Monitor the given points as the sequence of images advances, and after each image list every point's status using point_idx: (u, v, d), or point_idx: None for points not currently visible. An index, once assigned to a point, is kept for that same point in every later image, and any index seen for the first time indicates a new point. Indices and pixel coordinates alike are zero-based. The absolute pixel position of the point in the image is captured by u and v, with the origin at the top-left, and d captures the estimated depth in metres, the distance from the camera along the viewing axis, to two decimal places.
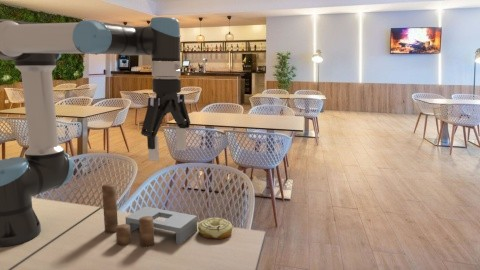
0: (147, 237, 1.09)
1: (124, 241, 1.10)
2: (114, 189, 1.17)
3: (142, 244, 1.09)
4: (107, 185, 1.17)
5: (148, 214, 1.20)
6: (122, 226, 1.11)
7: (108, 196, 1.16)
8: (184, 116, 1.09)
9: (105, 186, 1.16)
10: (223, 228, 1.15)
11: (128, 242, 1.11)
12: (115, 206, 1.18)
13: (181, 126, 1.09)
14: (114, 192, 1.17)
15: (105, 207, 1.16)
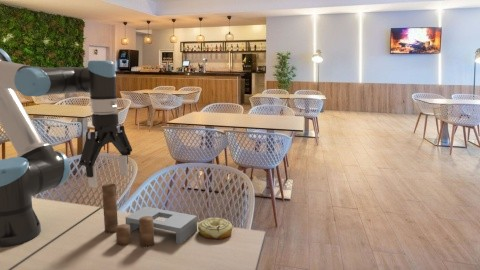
0: (147, 237, 1.09)
1: (124, 241, 1.10)
2: (114, 189, 1.17)
3: (142, 244, 1.09)
4: (107, 185, 1.17)
5: (148, 214, 1.20)
6: (122, 226, 1.11)
7: (108, 196, 1.16)
8: (125, 144, 1.22)
9: (105, 186, 1.16)
10: (223, 228, 1.15)
11: (128, 242, 1.11)
12: (115, 206, 1.18)
13: (123, 153, 1.22)
14: (114, 192, 1.17)
15: (105, 207, 1.16)
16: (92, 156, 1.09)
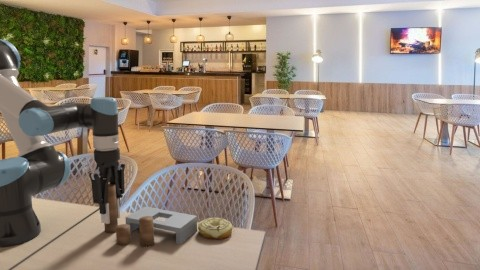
0: (147, 237, 1.09)
1: (124, 241, 1.10)
2: (114, 189, 1.17)
3: (142, 244, 1.09)
4: None
5: (148, 214, 1.20)
6: (122, 226, 1.11)
7: (108, 195, 1.16)
8: (120, 184, 1.21)
9: None
10: (223, 228, 1.15)
11: (128, 242, 1.11)
12: (115, 206, 1.18)
13: None
14: (114, 192, 1.17)
15: None
16: (102, 195, 1.14)
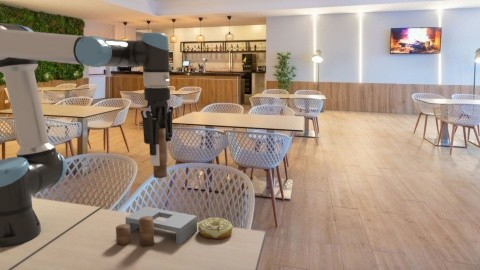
0: (147, 237, 1.09)
1: (124, 241, 1.10)
2: (164, 132, 1.13)
3: (142, 244, 1.09)
4: None
5: (148, 214, 1.20)
6: (122, 226, 1.11)
7: (159, 138, 1.12)
8: (168, 127, 1.17)
9: None
10: (223, 228, 1.15)
11: (128, 242, 1.11)
12: (165, 149, 1.14)
13: None
14: (164, 135, 1.13)
15: None
16: (153, 135, 1.10)
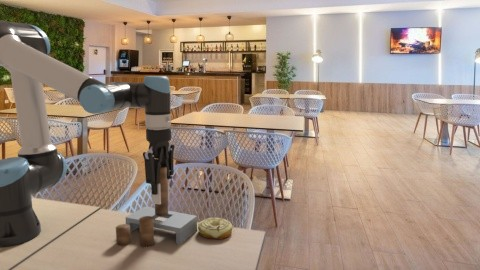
0: (147, 237, 1.09)
1: (124, 241, 1.10)
2: (165, 171, 1.15)
3: (142, 244, 1.09)
4: None
5: (148, 214, 1.20)
6: (122, 226, 1.11)
7: (160, 177, 1.14)
8: (169, 165, 1.20)
9: None
10: (223, 228, 1.15)
11: (128, 242, 1.11)
12: (166, 188, 1.16)
13: None
14: (165, 174, 1.15)
15: None
16: (155, 175, 1.13)
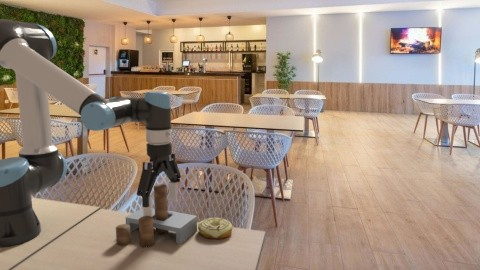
0: (147, 237, 1.09)
1: (124, 241, 1.10)
2: (166, 190, 1.16)
3: (142, 244, 1.09)
4: (158, 186, 1.17)
5: None
6: (122, 226, 1.11)
7: (160, 196, 1.15)
8: (175, 171, 1.23)
9: (157, 187, 1.16)
10: (224, 228, 1.15)
11: (128, 242, 1.11)
12: (166, 206, 1.18)
13: (172, 180, 1.23)
14: (166, 193, 1.16)
15: (157, 208, 1.16)
16: (148, 186, 1.10)
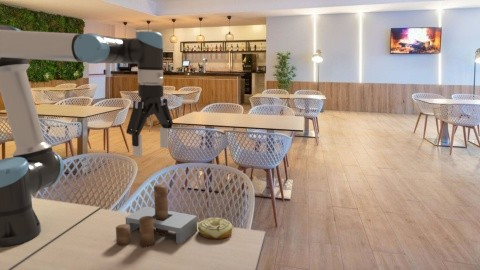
0: (147, 237, 1.09)
1: (124, 241, 1.10)
2: (166, 190, 1.16)
3: (142, 244, 1.09)
4: (158, 186, 1.17)
5: (148, 214, 1.20)
6: (122, 226, 1.11)
7: (161, 196, 1.15)
8: (167, 117, 1.23)
9: (157, 187, 1.16)
10: (224, 228, 1.15)
11: (128, 242, 1.11)
12: (167, 206, 1.18)
13: (164, 126, 1.23)
14: (166, 193, 1.17)
15: (157, 208, 1.16)
16: (138, 125, 1.10)
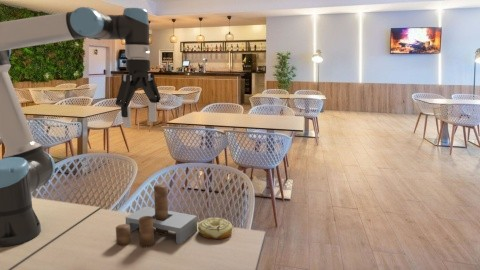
0: (147, 237, 1.09)
1: (124, 241, 1.10)
2: (166, 190, 1.16)
3: (142, 244, 1.09)
4: (158, 186, 1.17)
5: (148, 214, 1.20)
6: (122, 226, 1.11)
7: (161, 196, 1.15)
8: (155, 92, 1.29)
9: (157, 187, 1.16)
10: (224, 228, 1.15)
11: (128, 242, 1.11)
12: (167, 206, 1.18)
13: (152, 101, 1.29)
14: (166, 193, 1.17)
15: (157, 208, 1.16)
16: (127, 97, 1.16)
